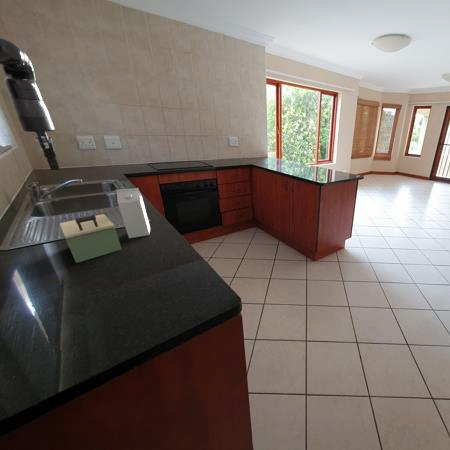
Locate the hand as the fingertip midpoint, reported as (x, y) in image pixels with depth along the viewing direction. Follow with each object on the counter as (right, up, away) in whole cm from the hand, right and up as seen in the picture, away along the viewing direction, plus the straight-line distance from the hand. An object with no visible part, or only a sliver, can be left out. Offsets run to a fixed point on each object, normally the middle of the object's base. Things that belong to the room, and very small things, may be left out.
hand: (55, 169), depth 83 cm
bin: (+11, -28, +3) cm, 31 cm away
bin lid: (+12, -20, -1) cm, 23 cm away
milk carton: (+20, -23, +15) cm, 34 cm away
